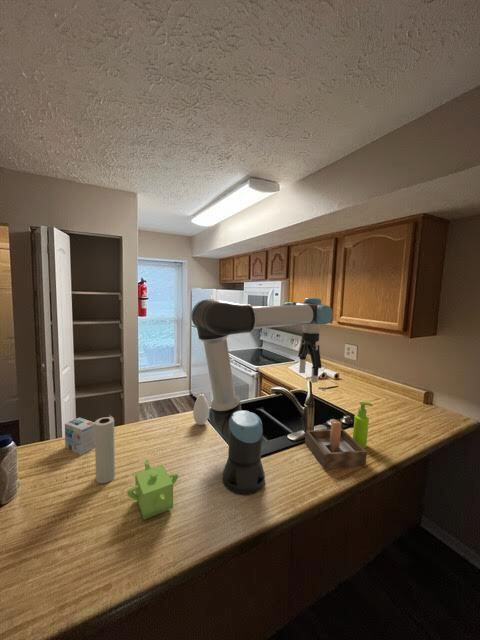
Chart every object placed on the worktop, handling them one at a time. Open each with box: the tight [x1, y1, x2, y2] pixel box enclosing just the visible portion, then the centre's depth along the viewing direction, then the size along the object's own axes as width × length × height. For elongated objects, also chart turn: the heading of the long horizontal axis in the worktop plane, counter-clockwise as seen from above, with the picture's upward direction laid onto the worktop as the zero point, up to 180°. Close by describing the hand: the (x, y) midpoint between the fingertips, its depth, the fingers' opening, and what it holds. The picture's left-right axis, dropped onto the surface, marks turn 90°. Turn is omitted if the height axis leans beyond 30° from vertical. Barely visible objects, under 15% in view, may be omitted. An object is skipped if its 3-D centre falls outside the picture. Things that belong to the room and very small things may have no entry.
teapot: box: [127, 459, 179, 521], centre depth 84 cm, size 15×13×11 cm
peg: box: [329, 419, 343, 453], centre depth 115 cm, size 4×4×14 cm
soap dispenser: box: [352, 401, 374, 449], centre depth 122 cm, size 6×7×20 cm
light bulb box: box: [64, 417, 95, 456], centre depth 113 cm, size 11×7×11 cm, turn 65°
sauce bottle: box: [192, 389, 210, 426], centre depth 136 cm, size 8×8×18 cm
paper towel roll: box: [94, 415, 116, 484], centre depth 95 cm, size 7×6×21 cm
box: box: [304, 428, 368, 470], centre depth 115 cm, size 18×18×6 cm
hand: (307, 377), depth 126 cm, fingers open, 13 cm apart
